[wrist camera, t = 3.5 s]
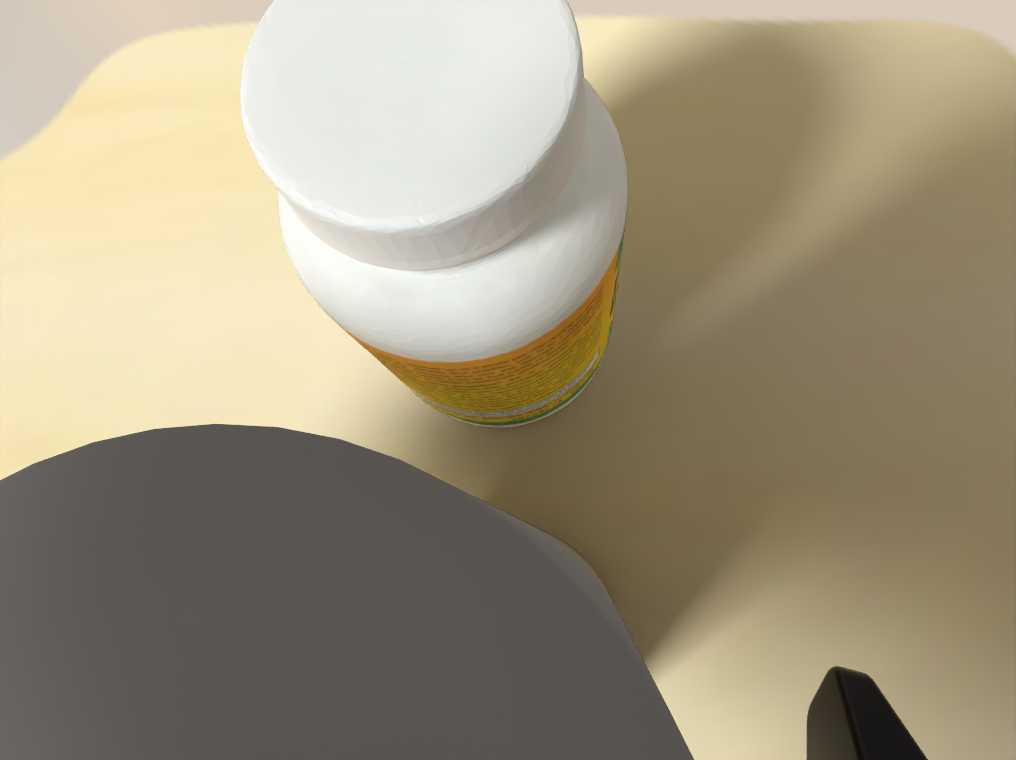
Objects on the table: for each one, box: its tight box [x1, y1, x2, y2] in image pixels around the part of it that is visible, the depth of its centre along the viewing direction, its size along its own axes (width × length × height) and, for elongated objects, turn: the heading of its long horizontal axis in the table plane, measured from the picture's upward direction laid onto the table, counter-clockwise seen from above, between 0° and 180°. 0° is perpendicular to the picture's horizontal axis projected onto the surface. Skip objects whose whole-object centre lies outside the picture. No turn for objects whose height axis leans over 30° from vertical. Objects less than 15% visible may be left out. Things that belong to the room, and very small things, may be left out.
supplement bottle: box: [240, 0, 628, 428], centre depth 13 cm, size 5×5×10 cm
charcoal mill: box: [0, 424, 694, 760], centre depth 9 cm, size 5×5×13 cm
